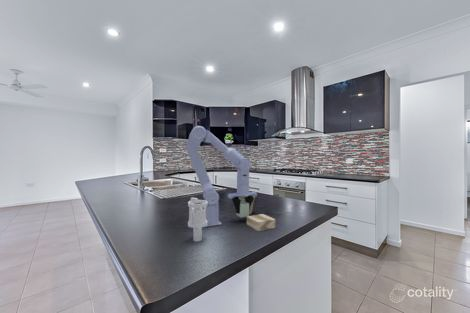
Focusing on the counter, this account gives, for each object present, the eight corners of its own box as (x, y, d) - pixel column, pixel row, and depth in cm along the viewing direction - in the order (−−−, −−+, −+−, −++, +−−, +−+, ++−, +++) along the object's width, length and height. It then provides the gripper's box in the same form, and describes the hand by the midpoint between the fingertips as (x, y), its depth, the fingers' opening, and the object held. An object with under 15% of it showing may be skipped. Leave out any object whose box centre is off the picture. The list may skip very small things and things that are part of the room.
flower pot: (248, 216, 102) (248, 199, 101) (234, 213, 107) (234, 197, 107) (258, 212, 109) (258, 196, 109) (244, 209, 115) (244, 194, 115)
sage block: (240, 217, 92) (240, 204, 92) (236, 214, 96) (236, 202, 96) (249, 216, 94) (249, 203, 94) (244, 213, 98) (244, 201, 98)
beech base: (258, 232, 82) (258, 222, 82) (246, 225, 90) (246, 216, 90) (275, 228, 86) (275, 219, 86) (262, 222, 94) (263, 213, 94)
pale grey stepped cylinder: (198, 234, 78) (199, 196, 78) (211, 239, 74) (211, 198, 74) (183, 240, 73) (184, 198, 73) (196, 245, 68) (196, 201, 68)
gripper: (232, 185, 88) (232, 216, 88) (260, 184, 94) (260, 213, 94) (226, 183, 94) (226, 212, 94) (252, 182, 101) (252, 209, 101)
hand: (242, 212), depth 95 cm, fingers closed on sage block, 4 cm apart
